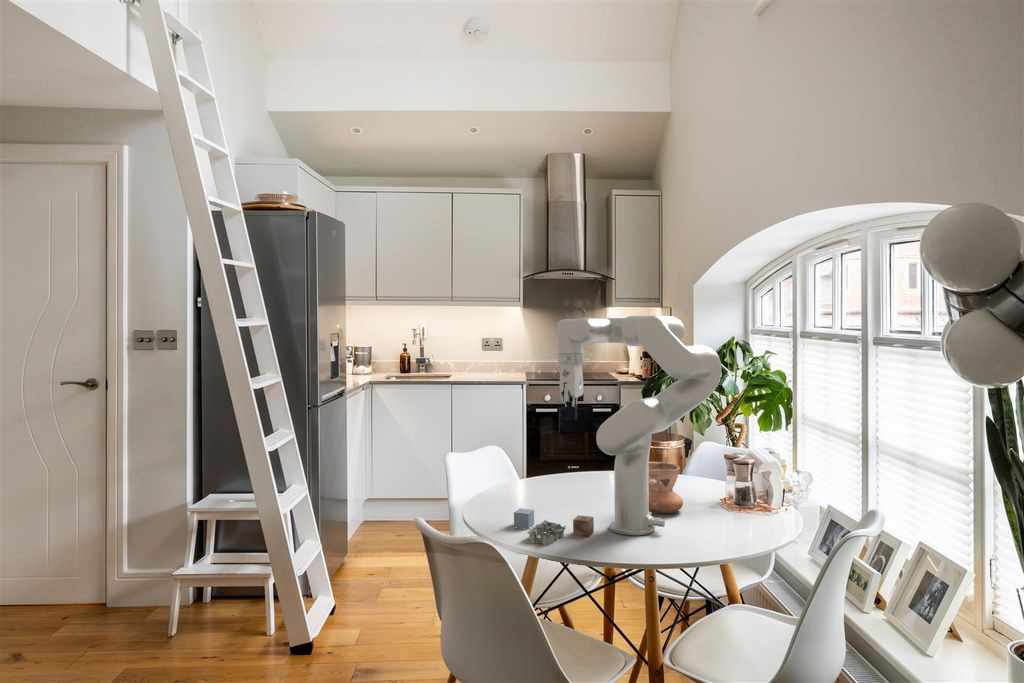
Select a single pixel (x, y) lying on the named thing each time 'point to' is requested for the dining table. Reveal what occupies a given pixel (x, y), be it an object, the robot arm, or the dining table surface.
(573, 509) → the dining table surface
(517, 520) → the slate-blue block
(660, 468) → the ceramic jug
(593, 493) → the dining table surface
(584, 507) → the dining table surface
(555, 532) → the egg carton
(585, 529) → the walnut block
